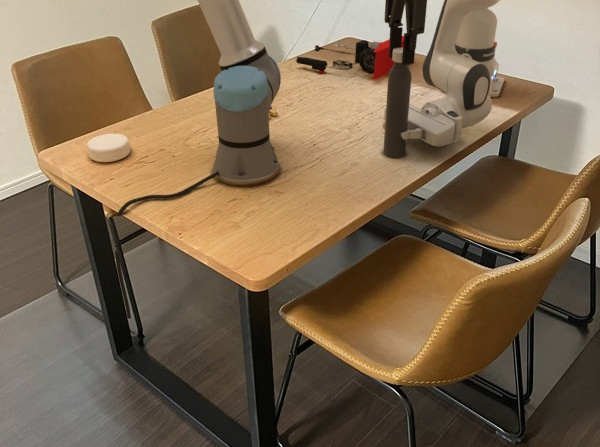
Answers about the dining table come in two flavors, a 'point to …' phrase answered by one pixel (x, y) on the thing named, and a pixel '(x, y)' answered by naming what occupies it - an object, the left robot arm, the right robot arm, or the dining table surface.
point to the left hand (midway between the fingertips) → (401, 60)
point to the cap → (397, 55)
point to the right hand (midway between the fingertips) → (393, 130)
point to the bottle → (397, 109)
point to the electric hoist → (359, 58)
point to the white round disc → (108, 147)
